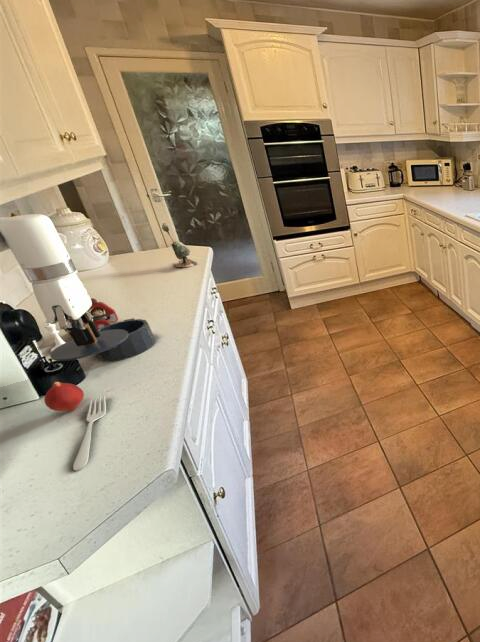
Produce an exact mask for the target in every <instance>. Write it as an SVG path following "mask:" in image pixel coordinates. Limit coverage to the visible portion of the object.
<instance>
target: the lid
mask: <svg viewBox="0 0 480 642" xmlns="http://www.w3.org/2000/svg"><path fill="white" fill-rule="evenodd" d="M84 325H85V327H86V328H89V330H90V332H91V334H92V335H93V337H94V339H95V342H94V343H92V344H87V345H83V346H77V345H76V343H75V342H74V340H73V339H71V340H68V341H67V342H66V341H65V342H66V343H64V344H62V345H60V346H59V347H57V348H56V349H54V350H53V351H52V352H51V351H50V354H49V356H50V358H51V360H53V361H58V362H67V361H68V362H69V361H75V360H80V359H84V358H89V357H92V356H96V354H98V353H101V352H104V351H106V350H109V349H111V348H113V347H115V346H117V345H119V344H120V343H122V342H123V341H125V340H126V339H127V338H128V335H129V334H128V332H127V331H126V330H121V329H113V330H105V331H100V332H99V333H100V336H99V337H97V338H96V337H95V336H94V334H93V332H92V330H91V328H90V326H89V324H88V323H84Z"/></svg>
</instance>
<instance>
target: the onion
mask: <svg viewBox="0 0 480 642" xmlns="http://www.w3.org/2000/svg"><path fill="white" fill-rule="evenodd" d="M84 397H85V394H84V390H82V388H81V387H80V386H78V385H76V384H74V383H70V382H69V383H68V382H61V381H54V383H52V386H51V387H50V388H49V389H48V390H47V391H46V394H45V395H44V404H45V406H46V407H47V408H48V409H50V410H51V411H55V412H74V411H75V410H76V409H77V408H78V406H79V405H80V404H81V403H82V402H83V400H84Z"/></svg>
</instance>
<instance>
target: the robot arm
mask: <svg viewBox="0 0 480 642" xmlns="http://www.w3.org/2000/svg"><path fill="white" fill-rule="evenodd" d="M7 250H10V251H11V252H12V254H13V256H14V258H15V259H16V261H17V263H18V265H19V267H20V268H21V270H22V272H23V274H24V275H25V277H26V280H28V282H29V283H30V284H31V288H32V291H33V293H34V296H35V299H36V301H37V303H38V305H39V309H40V310H41V312H42V314H43V316H44V317H45V319H47V321H48V323H50V324H55V325H56V324H57V323H58V327H59V329H60V330H64V329H66V330H67V332H68V333H67V332H66V333H67V334H69V333H70V335H71V336H70V335H69V336H70V337H71V338H72V340H74V342H75V343H76V345H77V346H83V345H87V344H92V343H94V342H95V339H94V337H93V335H92V334H91V332H90V330H89V328H86V327H85V325H84V323H88V324H89V326H90V328H91V330H92V332H93V334H94V336H95V337H96V338H97V337H99V336H100V333H99V331H98V329H97V328H96V326H95V324H94V322H93V318H92V317H93V316H92V315H91V314H90V311H89V309H90V307H91V305H92V301H91V297H90V295H89V293H88V291H87V289H86V287H85V285H84V284H83V282H82V280H81V279H80V277H79V276H78V273H79V271H78V269H77V267H76V266H75V264H74V262H73V260H72V257H71V256H70V253H69V252H68V249H67V248H66V246H65V244H64V242H63V240H62V238H61V237H60V234H59V233H58V231H57V228H56V227H55V225H54V223H53V221H52V219H51V218H50V217H48V216H47V215H45V214H40V213H31V214H20V215H13V216H9V217H6V216H5V217H4V216H3V217H1V216H0V253H2V252H5V251H7ZM68 317H72V318H69V319H68ZM73 321H75V322H74V323H70V322H73Z"/></svg>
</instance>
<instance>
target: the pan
mask: <svg viewBox="0 0 480 642" xmlns="http://www.w3.org/2000/svg"><path fill="white" fill-rule="evenodd" d="M113 329H121V330H126V331H127V332H128V334H129V335H128V338H127V339H126V340H125V341H123V342H122V343H120V344H119V345H117V346H115V347H113V348H111V349H109V350H106V351H104V352H101V353H98V354H95V356H96V358H97V360H98V361H100V362H107V363H108V362H109V363H110V362H116V361H123V360H125V359H129V358H132V357H135V356H138V355H140V354H142V353H144V352H146V351H148V350H149V349H151V348H152V347H154V346H155V344H156V338H155V336H154V334H153V331H152V329H151V327H150V325H149V322H148V321H147V320H146V319H141V318H136V319H135V318H133V317H132V318H128V319H124V320H121V321H117V322H114V323H110V325H108V326H105V327H103V328H100V329H98V331H99V332H100V331H105V330H113Z"/></svg>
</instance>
